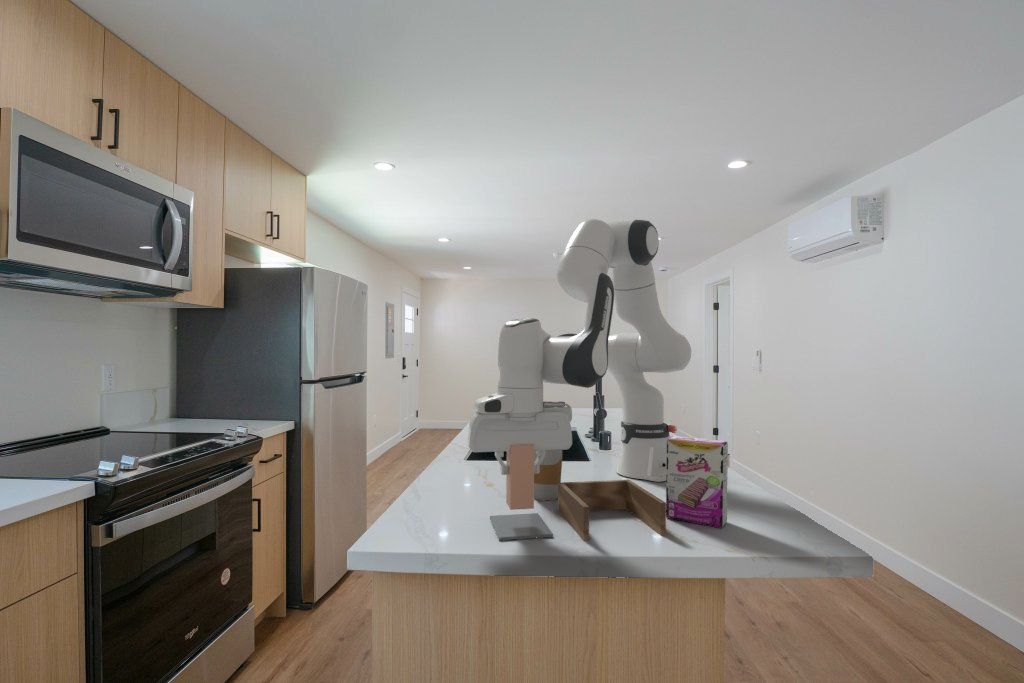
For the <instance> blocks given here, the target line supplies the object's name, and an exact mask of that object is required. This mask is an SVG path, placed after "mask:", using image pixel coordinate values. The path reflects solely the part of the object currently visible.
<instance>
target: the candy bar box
mask: <svg viewBox="0 0 1024 683" xmlns="http://www.w3.org/2000/svg"><path fill="white" fill-rule="evenodd" d="M728 447H729V443H728V441H726V440H718V439H709V438H701V437H700V438H699V437H690V436H683V435H672V436H670V438H668V439H667V475H666V481H665V483H666V486H665V489H666V490H665V498H666V499H665V502H666V519H667V518H668V519H670V520H671V519H672V520H677V521H682V522H688V523H693V524H697V525H703V526H708V527H714V528H718V529H719V528H721V529H723V528H724V526H725V525H726V523H727V522H728V467H729V466H728V462H729V461H728V460H729V458H728V457H729V456H728V455H729V454H728V453H729V450H728V449H729V448H728Z"/></svg>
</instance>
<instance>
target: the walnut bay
mask: <svg viewBox="0 0 1024 683" xmlns="http://www.w3.org/2000/svg"><path fill="white" fill-rule="evenodd" d="M605 510H606V511H609V510H610V511H612V510H627V511H629V513H631V514H633V515H634V516H635V517H636V518H637V519H639V520H640V521H642V522H643V523H644V524H645V525H647V526H648V527H649V528H651V529H652V530H653V531H654V532H656V533H657V534H659V535H660V536H667V534H666V533H667V518H666V501H665V500H662V499H661V498H659V497H658V496H656V495H655V494H653V493H651V492H650V491H648V490H647V489H645V488H643V487H641V485H638V483H635V482H634V481H632V480H631V479H614V480H613V479H611V480H610V479H609V480H589V481H568V482H565V481H564V482H561V483H558V498H557V511H558V513H559V515H561V516H562V518H563V519H564V520H565V521H566V522H567V523H568V525H570V527H571V528H572V529H573V530H574V531H575V532H576V534H577V535H578V537H580V538H581V539H582V540H584V541H590V512H594V511H605Z"/></svg>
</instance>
